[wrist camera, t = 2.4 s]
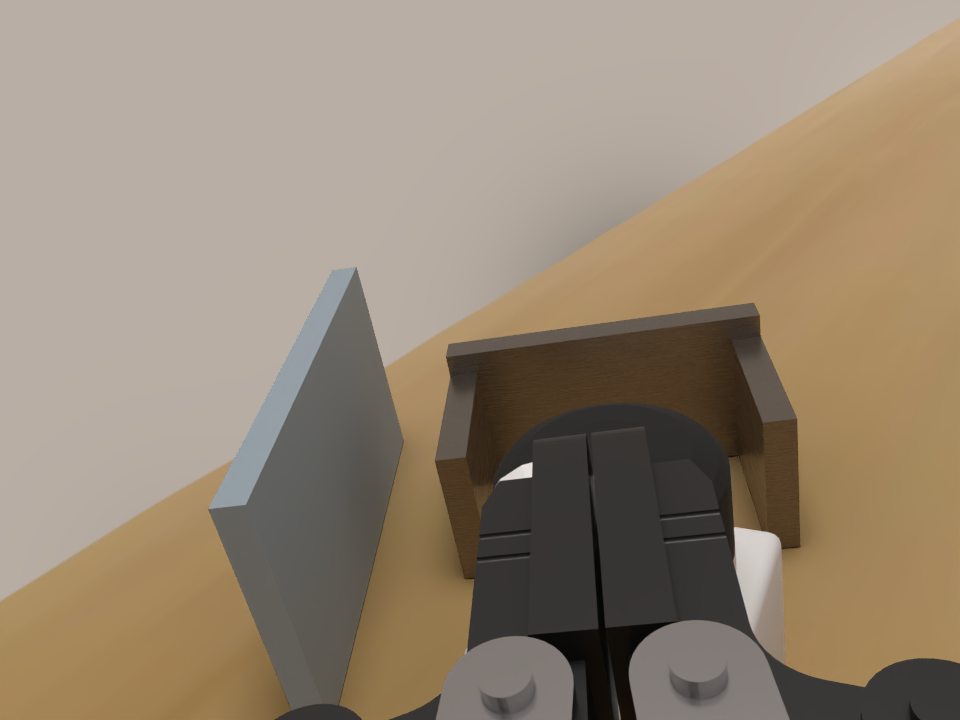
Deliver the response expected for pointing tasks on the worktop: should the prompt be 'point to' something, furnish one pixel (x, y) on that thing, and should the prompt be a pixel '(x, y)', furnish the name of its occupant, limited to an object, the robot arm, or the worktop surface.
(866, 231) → the worktop surface
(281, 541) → the door board
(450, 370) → the keeper
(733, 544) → the medicine bottle
